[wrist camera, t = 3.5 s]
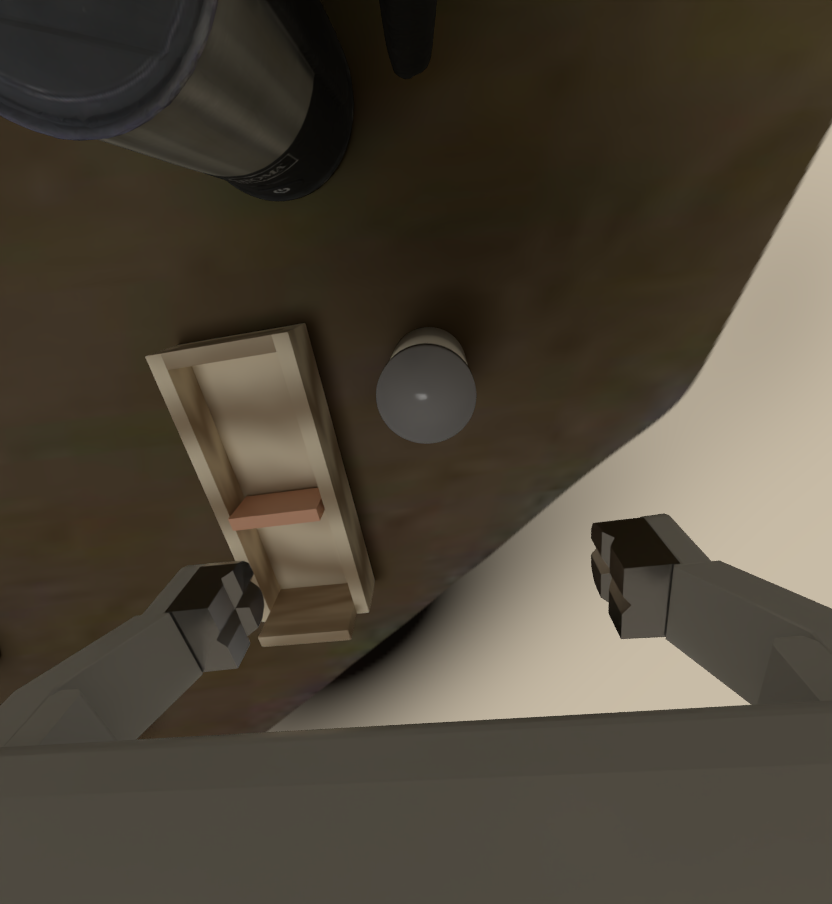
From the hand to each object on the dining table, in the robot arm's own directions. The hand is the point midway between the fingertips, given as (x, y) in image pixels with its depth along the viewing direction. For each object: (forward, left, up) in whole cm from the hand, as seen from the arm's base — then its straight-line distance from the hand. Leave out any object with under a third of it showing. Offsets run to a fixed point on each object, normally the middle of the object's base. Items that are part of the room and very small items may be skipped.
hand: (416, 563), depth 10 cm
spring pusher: (+8, -12, -19) cm, 24 cm away
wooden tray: (+7, -12, -20) cm, 24 cm away
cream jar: (0, 0, -20) cm, 20 cm away
